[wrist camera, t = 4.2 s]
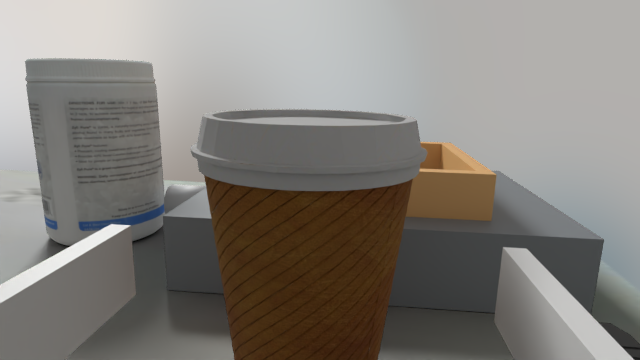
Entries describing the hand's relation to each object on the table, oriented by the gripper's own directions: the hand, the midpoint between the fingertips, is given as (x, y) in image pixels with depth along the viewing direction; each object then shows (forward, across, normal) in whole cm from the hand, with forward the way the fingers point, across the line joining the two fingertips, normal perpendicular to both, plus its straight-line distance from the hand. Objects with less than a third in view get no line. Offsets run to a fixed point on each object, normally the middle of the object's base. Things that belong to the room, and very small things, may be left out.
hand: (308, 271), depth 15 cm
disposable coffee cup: (+4, 0, -7) cm, 8 cm away
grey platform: (+21, 0, -7) cm, 22 cm away
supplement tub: (+21, -21, -7) cm, 30 cm away
